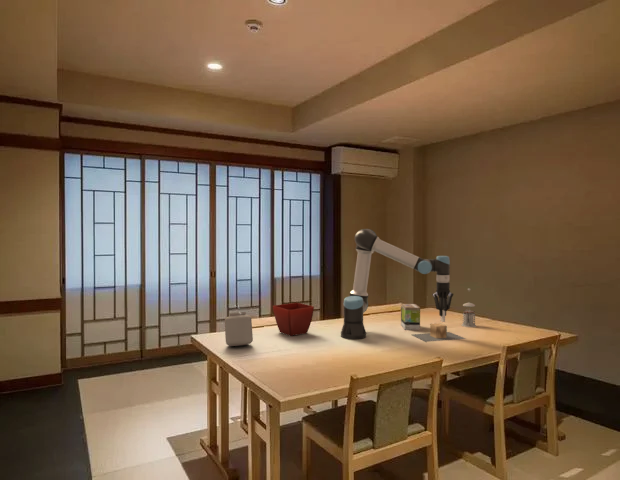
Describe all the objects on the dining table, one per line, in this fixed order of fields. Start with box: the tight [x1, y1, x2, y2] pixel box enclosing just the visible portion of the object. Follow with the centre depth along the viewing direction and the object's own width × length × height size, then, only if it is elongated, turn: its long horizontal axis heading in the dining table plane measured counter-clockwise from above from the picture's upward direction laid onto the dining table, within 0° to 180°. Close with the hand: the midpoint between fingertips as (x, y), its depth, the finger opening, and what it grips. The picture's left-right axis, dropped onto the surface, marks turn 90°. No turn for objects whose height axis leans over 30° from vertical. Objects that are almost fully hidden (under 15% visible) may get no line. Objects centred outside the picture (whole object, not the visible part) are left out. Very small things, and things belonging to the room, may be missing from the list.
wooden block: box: [429, 322, 448, 338], centre depth 268 cm, size 7×7×7 cm
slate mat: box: [411, 331, 467, 343], centre depth 268 cm, size 26×18×1 cm
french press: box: [460, 288, 477, 328], centre depth 299 cm, size 10×12×25 cm
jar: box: [224, 305, 254, 347], centre depth 249 cm, size 19×15×25 cm
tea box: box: [400, 303, 421, 331], centre depth 294 cm, size 15×10×15 cm
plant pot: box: [272, 302, 315, 337], centre depth 279 cm, size 19×19×17 cm
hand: (442, 321), depth 268 cm, fingers closed
